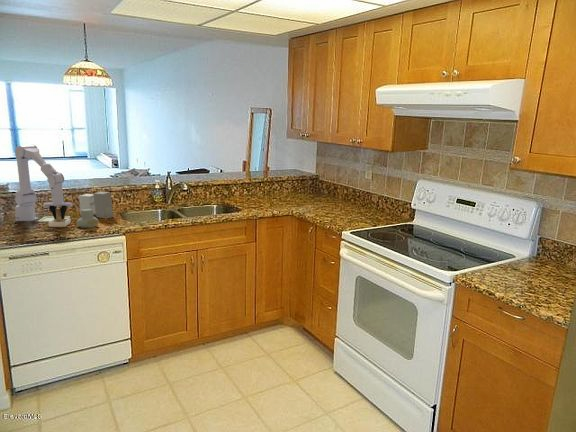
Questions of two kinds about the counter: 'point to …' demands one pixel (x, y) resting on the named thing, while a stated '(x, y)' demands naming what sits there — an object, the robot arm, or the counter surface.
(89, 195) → the supplement box
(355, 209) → the counter surface
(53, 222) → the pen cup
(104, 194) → the skincare box
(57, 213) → the dowel
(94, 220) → the air freshener
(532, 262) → the counter surface
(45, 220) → the tray
